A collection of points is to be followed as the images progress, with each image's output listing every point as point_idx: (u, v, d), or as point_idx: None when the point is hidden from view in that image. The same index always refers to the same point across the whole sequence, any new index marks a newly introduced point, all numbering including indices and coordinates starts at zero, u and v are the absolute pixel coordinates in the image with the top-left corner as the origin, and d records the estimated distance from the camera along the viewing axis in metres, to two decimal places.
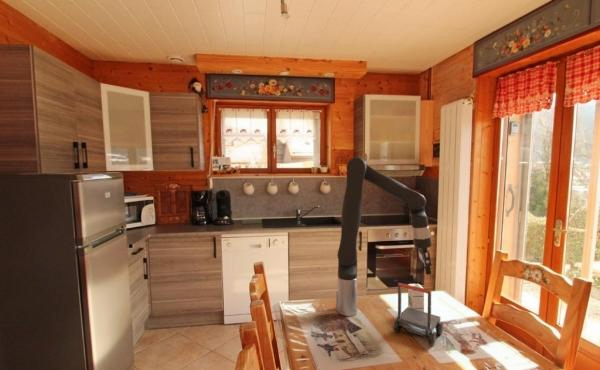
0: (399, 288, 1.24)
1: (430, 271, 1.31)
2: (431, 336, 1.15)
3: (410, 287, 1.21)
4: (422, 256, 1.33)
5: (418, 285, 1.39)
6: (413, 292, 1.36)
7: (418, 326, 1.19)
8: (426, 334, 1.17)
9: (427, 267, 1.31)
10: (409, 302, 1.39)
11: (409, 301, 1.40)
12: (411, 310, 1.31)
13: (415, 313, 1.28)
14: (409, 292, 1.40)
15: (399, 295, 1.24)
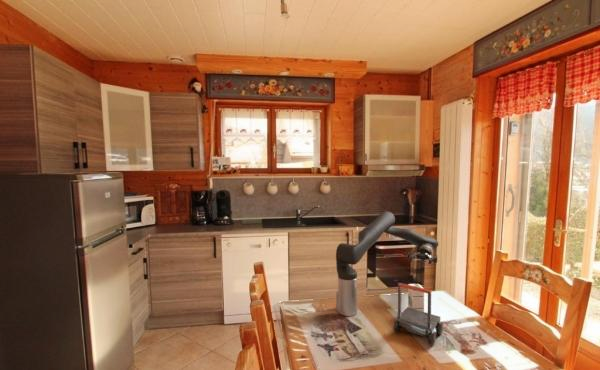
0: (399, 288, 1.24)
1: (430, 263, 1.47)
2: (431, 336, 1.15)
3: (410, 287, 1.21)
4: (428, 255, 1.53)
5: (418, 285, 1.39)
6: (413, 292, 1.36)
7: (418, 326, 1.19)
8: (426, 334, 1.17)
9: (432, 260, 1.48)
10: (409, 302, 1.39)
11: (409, 301, 1.40)
12: (411, 310, 1.31)
13: (415, 313, 1.28)
14: (409, 292, 1.40)
15: (399, 295, 1.24)
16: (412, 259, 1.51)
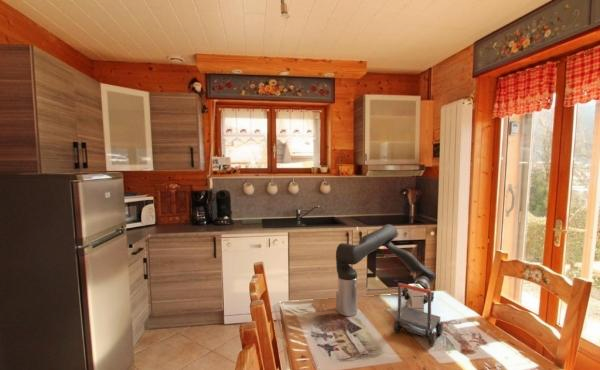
0: (399, 288, 1.24)
1: (425, 302, 1.36)
2: (431, 336, 1.15)
3: (410, 287, 1.21)
4: None
5: (418, 285, 1.39)
6: (413, 292, 1.36)
7: (418, 326, 1.19)
8: (426, 334, 1.17)
9: (427, 299, 1.38)
10: (409, 302, 1.39)
11: (409, 301, 1.40)
12: (411, 310, 1.31)
13: (415, 313, 1.28)
14: (409, 292, 1.40)
15: (399, 295, 1.24)
16: (407, 297, 1.41)
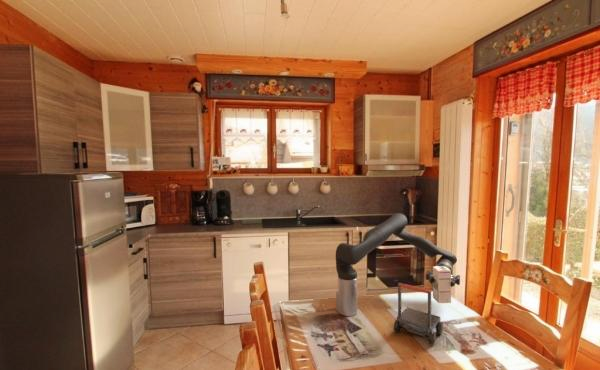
0: (399, 288, 1.24)
1: (452, 285, 1.27)
2: (431, 336, 1.15)
3: (410, 287, 1.21)
4: None
5: (444, 267, 1.30)
6: (439, 274, 1.27)
7: (418, 326, 1.19)
8: (426, 334, 1.17)
9: (454, 281, 1.29)
10: (435, 285, 1.30)
11: (434, 284, 1.31)
12: (411, 310, 1.31)
13: (415, 313, 1.28)
14: (434, 275, 1.30)
15: (399, 295, 1.24)
16: (432, 280, 1.31)
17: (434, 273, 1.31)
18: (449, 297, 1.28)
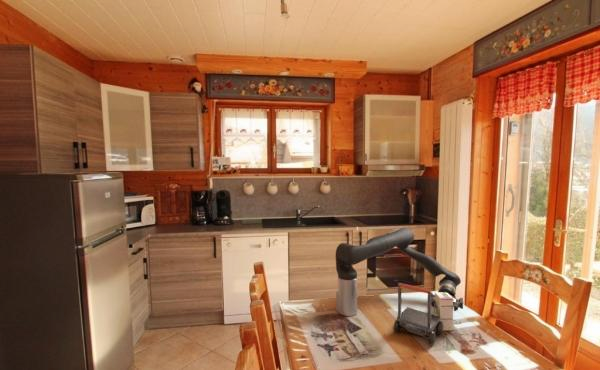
0: (399, 288, 1.24)
1: (455, 309, 1.26)
2: (431, 336, 1.15)
3: (410, 287, 1.21)
4: None
5: (446, 294, 1.29)
6: (441, 301, 1.26)
7: (418, 326, 1.19)
8: (426, 334, 1.17)
9: (458, 305, 1.27)
10: (437, 312, 1.29)
11: (436, 311, 1.30)
12: (411, 310, 1.31)
13: (415, 313, 1.28)
14: (436, 301, 1.30)
15: (399, 295, 1.24)
16: (434, 303, 1.31)
17: (436, 299, 1.30)
18: (451, 325, 1.26)
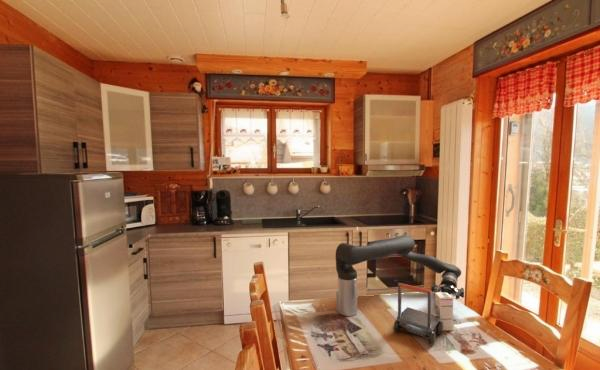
0: (399, 288, 1.24)
1: (457, 298, 1.37)
2: (431, 336, 1.15)
3: (410, 287, 1.21)
4: (454, 288, 1.43)
5: (446, 294, 1.29)
6: (441, 301, 1.26)
7: (418, 326, 1.19)
8: (426, 334, 1.17)
9: (459, 294, 1.38)
10: (437, 312, 1.29)
11: (436, 311, 1.30)
12: (411, 310, 1.31)
13: (415, 313, 1.28)
14: (436, 301, 1.30)
15: (399, 295, 1.24)
16: None
17: (436, 299, 1.30)
18: (451, 325, 1.26)
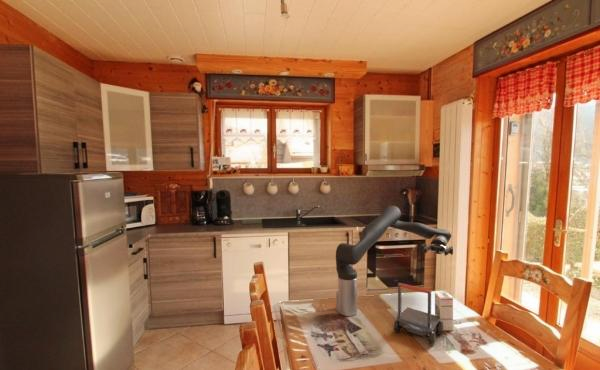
0: (399, 288, 1.24)
1: (446, 254, 1.38)
2: (431, 336, 1.15)
3: (410, 287, 1.21)
4: None
5: (446, 294, 1.29)
6: (441, 301, 1.26)
7: (418, 326, 1.19)
8: (426, 334, 1.17)
9: (448, 251, 1.40)
10: (437, 312, 1.29)
11: (436, 311, 1.30)
12: (411, 310, 1.31)
13: (415, 313, 1.28)
14: (436, 301, 1.30)
15: (399, 295, 1.24)
16: (426, 250, 1.43)
17: (436, 299, 1.30)
18: (451, 325, 1.26)
